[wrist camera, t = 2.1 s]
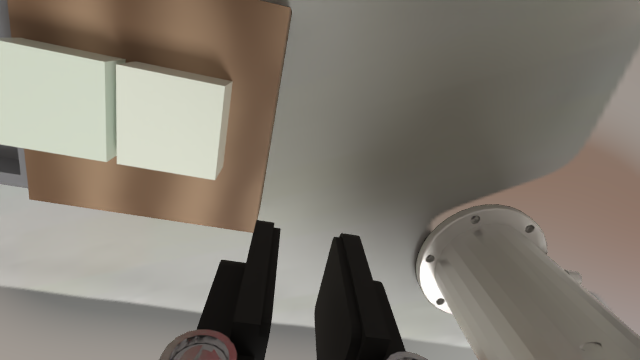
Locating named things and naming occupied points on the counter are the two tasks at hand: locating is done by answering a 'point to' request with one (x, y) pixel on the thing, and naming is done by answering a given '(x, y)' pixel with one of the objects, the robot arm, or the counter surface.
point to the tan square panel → (180, 54)
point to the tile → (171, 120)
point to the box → (6, 160)
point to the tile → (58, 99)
